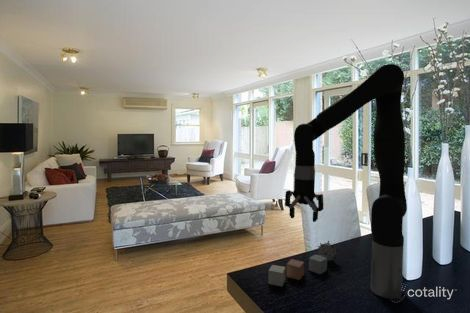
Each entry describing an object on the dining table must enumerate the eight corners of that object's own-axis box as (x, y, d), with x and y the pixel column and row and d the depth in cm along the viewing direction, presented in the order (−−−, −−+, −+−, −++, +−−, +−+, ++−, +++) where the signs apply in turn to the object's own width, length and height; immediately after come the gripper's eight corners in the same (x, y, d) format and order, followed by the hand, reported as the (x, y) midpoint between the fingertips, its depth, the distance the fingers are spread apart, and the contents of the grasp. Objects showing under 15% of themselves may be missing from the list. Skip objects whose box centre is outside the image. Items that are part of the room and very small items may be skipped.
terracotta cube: (303, 274, 111) (304, 262, 111) (299, 280, 107) (299, 267, 106) (291, 271, 114) (291, 259, 113) (286, 276, 109) (286, 263, 109)
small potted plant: (322, 270, 122) (308, 252, 121) (326, 256, 129) (313, 239, 128) (341, 266, 117) (327, 246, 116) (344, 251, 124) (331, 233, 123)
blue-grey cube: (326, 270, 115) (327, 258, 114) (320, 274, 111) (320, 261, 111) (315, 266, 118) (315, 254, 118) (308, 270, 115) (309, 257, 115)
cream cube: (285, 280, 107) (285, 266, 107) (282, 286, 102) (282, 272, 102) (271, 277, 109) (272, 264, 108) (268, 284, 104) (268, 270, 104)
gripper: (326, 177, 109) (324, 220, 111) (290, 174, 117) (289, 214, 118) (320, 180, 103) (319, 225, 104) (282, 176, 110) (281, 218, 112)
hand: (303, 219), depth 111 cm, fingers open, 8 cm apart
